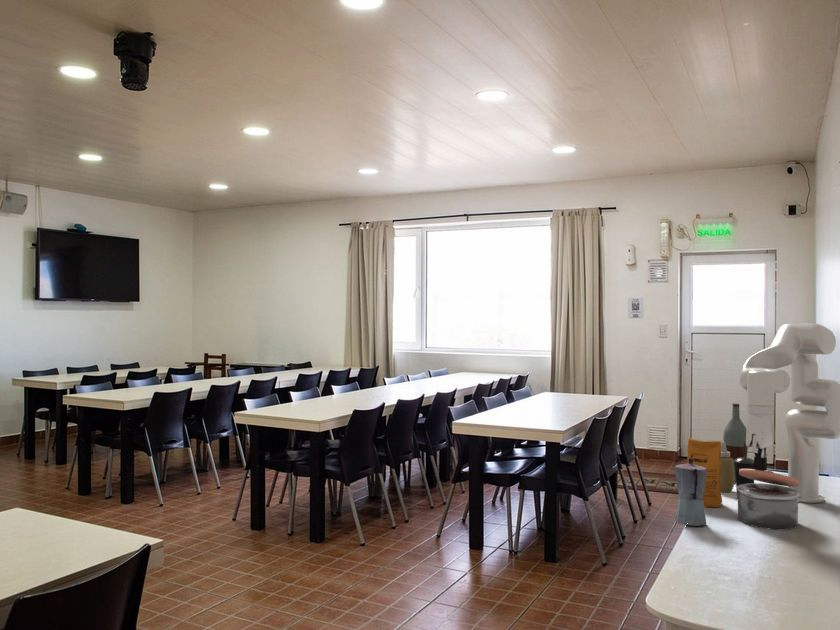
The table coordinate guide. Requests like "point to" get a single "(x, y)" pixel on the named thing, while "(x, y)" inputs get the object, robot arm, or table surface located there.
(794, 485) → the lid
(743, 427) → the green wine bottle
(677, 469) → the moka pot
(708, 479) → the coffee package
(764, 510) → the cooker pot
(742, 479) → the drinking cup
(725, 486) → the squeeze bottle
